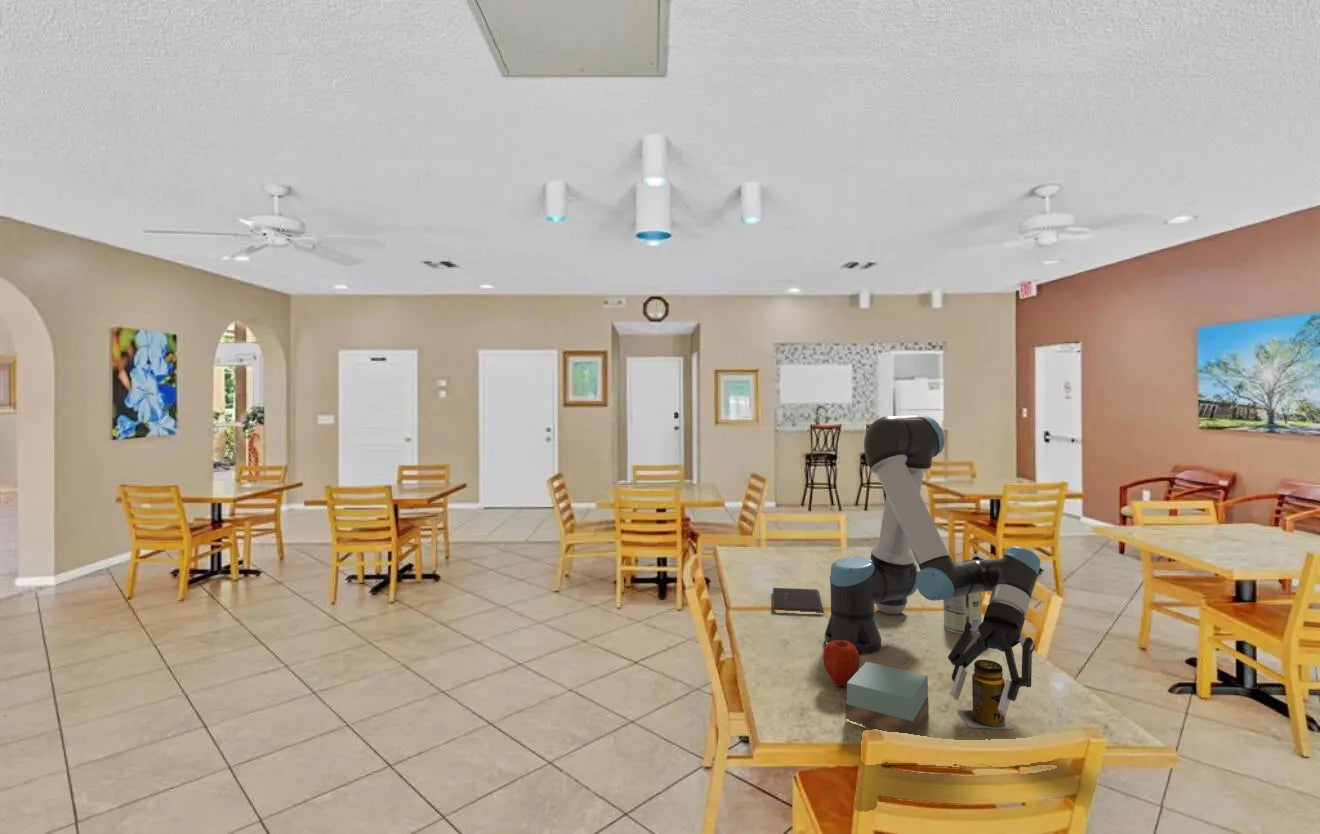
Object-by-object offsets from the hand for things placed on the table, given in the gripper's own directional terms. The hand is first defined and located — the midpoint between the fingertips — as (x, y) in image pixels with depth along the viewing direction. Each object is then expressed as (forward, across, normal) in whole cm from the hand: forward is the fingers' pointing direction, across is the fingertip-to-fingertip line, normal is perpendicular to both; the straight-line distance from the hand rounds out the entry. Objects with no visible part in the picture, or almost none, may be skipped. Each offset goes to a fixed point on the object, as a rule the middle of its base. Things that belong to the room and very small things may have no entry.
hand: (977, 704), depth 127 cm
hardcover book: (-24, +74, -31) cm, 84 cm away
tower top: (+8, +14, +8) cm, 18 cm away
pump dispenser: (-35, +48, -41) cm, 72 cm away
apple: (+7, +29, 0) cm, 30 cm away
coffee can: (-35, +26, -42) cm, 61 cm away
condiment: (+1, 0, -6) cm, 6 cm away
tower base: (+11, +14, +5) cm, 18 cm away
